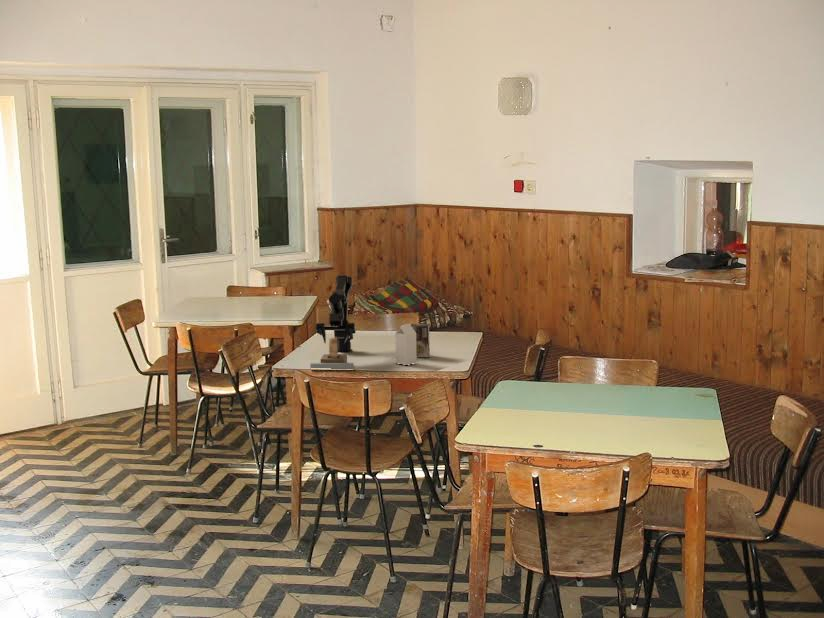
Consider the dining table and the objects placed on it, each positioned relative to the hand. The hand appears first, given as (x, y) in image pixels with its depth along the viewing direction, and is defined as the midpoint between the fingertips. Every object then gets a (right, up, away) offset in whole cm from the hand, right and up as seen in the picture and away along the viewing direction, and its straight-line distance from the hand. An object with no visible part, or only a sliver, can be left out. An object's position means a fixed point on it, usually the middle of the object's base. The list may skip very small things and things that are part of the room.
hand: (334, 343), depth 453 cm
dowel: (0, -10, -2) cm, 11 cm away
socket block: (0, -11, -1) cm, 11 cm away
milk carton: (+34, -10, +3) cm, 36 cm away
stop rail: (0, -13, -8) cm, 15 cm away
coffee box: (+41, -8, +18) cm, 45 cm away
